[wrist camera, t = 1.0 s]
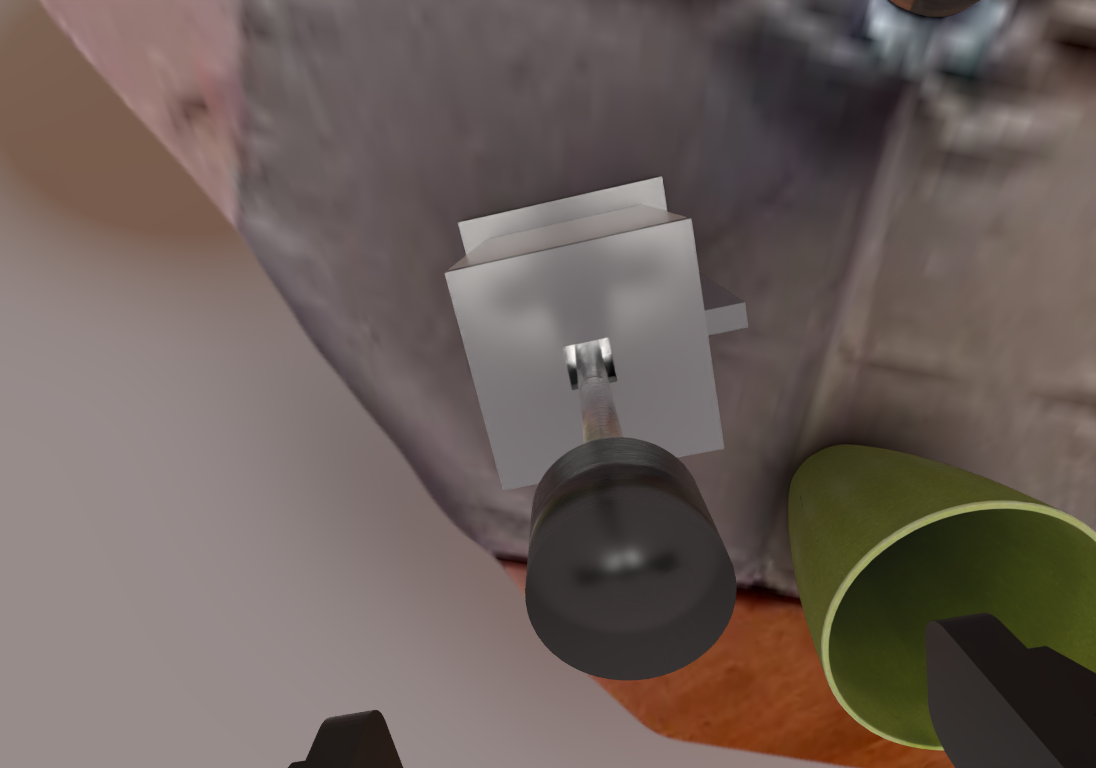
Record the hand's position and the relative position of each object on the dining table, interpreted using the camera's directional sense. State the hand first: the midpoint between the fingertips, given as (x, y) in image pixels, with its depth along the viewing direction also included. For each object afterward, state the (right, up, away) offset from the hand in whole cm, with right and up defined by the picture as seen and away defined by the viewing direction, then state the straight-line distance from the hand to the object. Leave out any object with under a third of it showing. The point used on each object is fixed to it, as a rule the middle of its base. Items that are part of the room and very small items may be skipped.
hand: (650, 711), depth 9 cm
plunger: (0, +7, +21) cm, 22 cm away
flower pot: (+20, -3, +37) cm, 43 cm away
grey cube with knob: (+1, +11, +33) cm, 35 cm away
